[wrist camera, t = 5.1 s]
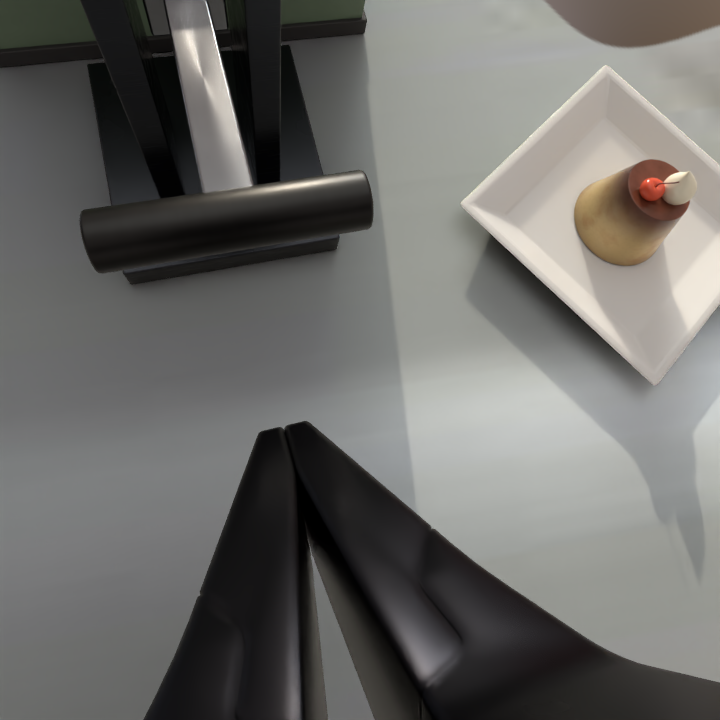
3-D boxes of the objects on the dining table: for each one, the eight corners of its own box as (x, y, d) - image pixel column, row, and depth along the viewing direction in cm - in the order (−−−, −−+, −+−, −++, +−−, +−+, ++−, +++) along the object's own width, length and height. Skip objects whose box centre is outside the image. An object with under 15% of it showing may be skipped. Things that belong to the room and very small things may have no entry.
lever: (367, 253, 13) (380, 186, 11) (111, 298, 12) (70, 233, 10) (274, -34, 17) (269, -126, 15) (74, -21, 16) (38, -118, 14)
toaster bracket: (337, 249, 25) (386, 44, 13) (130, 285, 23) (-15, 83, 12) (289, 63, 27) (297, -256, 15) (95, 83, 25) (-60, -261, 13)
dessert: (451, 216, 26) (489, 156, 21) (594, 79, 29) (653, 1, 24) (639, 391, 25) (720, 369, 21) (764, 231, 28) (858, 181, 24)
